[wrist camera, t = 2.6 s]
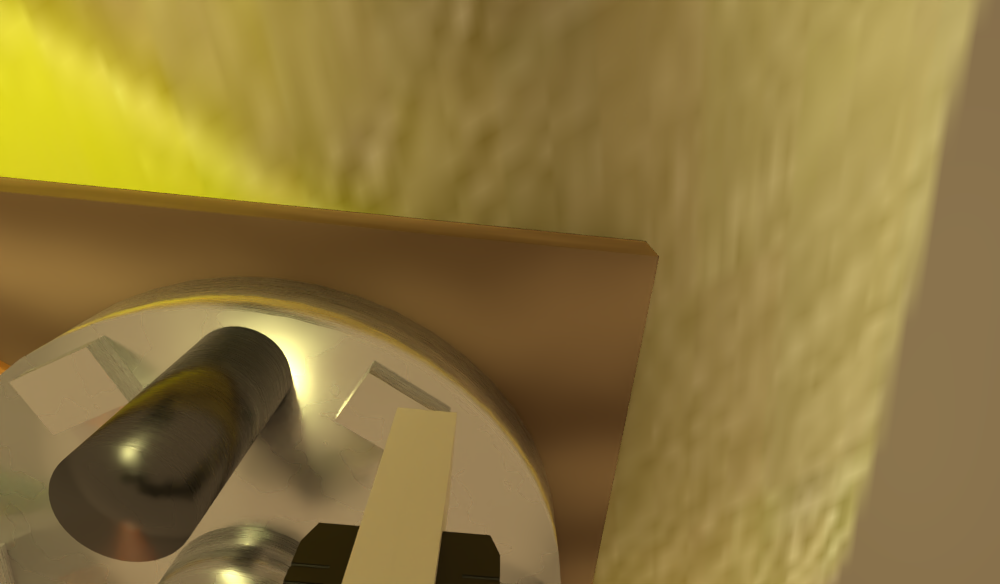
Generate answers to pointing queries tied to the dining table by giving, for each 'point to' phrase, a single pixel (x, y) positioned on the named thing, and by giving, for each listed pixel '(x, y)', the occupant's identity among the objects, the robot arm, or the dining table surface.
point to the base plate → (378, 278)
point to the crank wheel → (242, 437)
